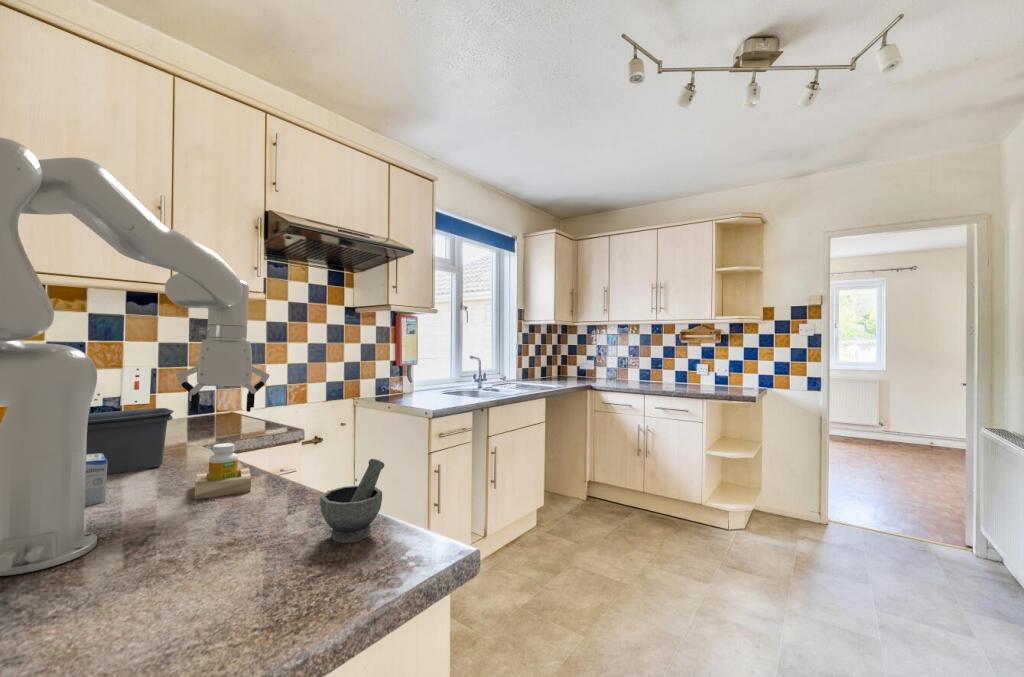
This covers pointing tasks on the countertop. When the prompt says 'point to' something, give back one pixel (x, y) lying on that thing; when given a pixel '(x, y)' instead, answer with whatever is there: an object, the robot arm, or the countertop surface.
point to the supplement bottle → (223, 462)
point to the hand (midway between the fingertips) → (223, 412)
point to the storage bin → (128, 438)
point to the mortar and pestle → (353, 506)
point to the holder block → (222, 484)
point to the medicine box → (95, 479)
